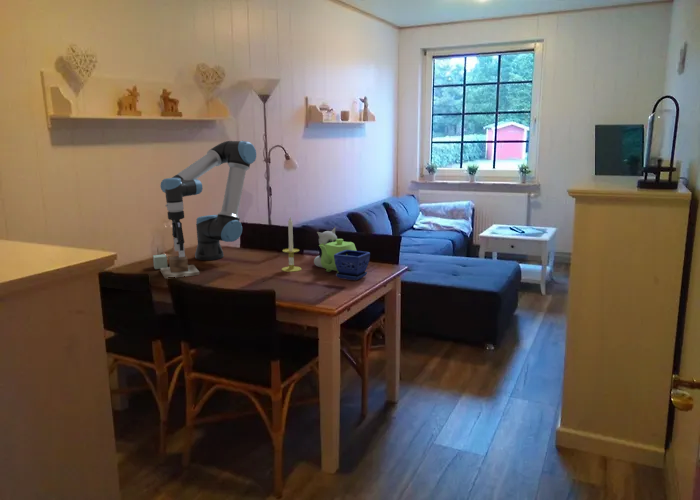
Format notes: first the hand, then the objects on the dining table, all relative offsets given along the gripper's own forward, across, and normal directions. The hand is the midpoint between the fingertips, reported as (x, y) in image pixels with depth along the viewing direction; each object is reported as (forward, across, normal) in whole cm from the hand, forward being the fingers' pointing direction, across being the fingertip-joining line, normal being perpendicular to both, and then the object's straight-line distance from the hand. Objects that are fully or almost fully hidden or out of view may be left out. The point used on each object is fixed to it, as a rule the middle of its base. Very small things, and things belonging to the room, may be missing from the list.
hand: (179, 253), depth 270 cm
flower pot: (+11, +46, +71) cm, 85 cm away
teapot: (+11, +29, +69) cm, 75 cm away
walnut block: (+8, +1, -1) cm, 8 cm away
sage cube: (+10, -15, -8) cm, 20 cm away
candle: (+11, +17, +51) cm, 55 cm away
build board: (+9, +1, -1) cm, 9 cm away
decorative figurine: (+12, +18, +70) cm, 74 cm away
